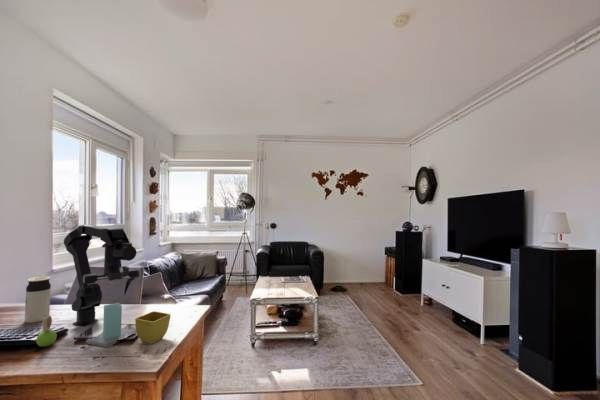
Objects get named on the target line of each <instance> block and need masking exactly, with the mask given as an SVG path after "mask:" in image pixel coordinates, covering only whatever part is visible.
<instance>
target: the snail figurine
mask: <svg viewBox="0 0 600 400" xmlns="http://www.w3.org/2000/svg"><path fill="white" fill-rule="evenodd" d="M45 316H47V315H45ZM43 317H44V315H43ZM41 322H42V332H40V333H39V334H38V335H37V337H36V339H35V343H36V344H37V345H38V347H40V348H43V347H44V348H45V347H50V346H51V345H52V344H54V342H55V341H56V340H57V336H58V335H57V332H56V331H55V330H53V329H51V326H52V323H53V318H52V316H51V315H49V316H47V317H46V318H43V320H42V321H41Z"/></svg>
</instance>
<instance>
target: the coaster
mask: <svg viewBox="0 0 600 400" xmlns="http://www.w3.org/2000/svg"><path fill="white" fill-rule="evenodd" d="M134 331H135V332H136V329H130V328H129V329H128V328H122V327H121V336H123V335H125V334H127V333H128V334H129V333H132V332H134ZM100 334H101V333H100ZM98 335H99V334H98ZM119 337H120V336H116V337H112V338H108V339H105V338H104V336H103V332H102V334H101V335H99V336H98V337H96V338H92V337H91V338H92V339H90V338H88V339H86V341H85V344H88V345H92V346H98V347H103V348H109V347H110V346H113V345H114V344H117V343H118V342H117V340H118V339H119ZM116 342H117V343H116Z"/></svg>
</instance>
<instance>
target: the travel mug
mask: <svg viewBox="0 0 600 400" xmlns="http://www.w3.org/2000/svg"><path fill="white" fill-rule="evenodd" d="M50 279H51V276H37V277H35V276H34V277H31V278H28V279H27V281H28V284H27V286H26V289H25V291H26V292H25V306H24V307H25V308H24V323H29V324H31V323H32V324H33V323H34V324H35V323H39V322H43V321H42V320H43V318H46V317H47V316H50V308H51V307H50V306H51V292H52V291H51V289H52V288H51V287H52V284H51V283H50ZM43 315H44V317H43ZM45 315H47V316H45Z"/></svg>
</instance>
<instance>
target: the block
mask: <svg viewBox="0 0 600 400" xmlns="http://www.w3.org/2000/svg"><path fill="white" fill-rule="evenodd" d="M122 308H123V305H122V304H121V303H120V302H116V303H111V304H105V305H103V324H102V333H103V336H104V338H105V339H108V338H112V337H116V336H121V328H122V318H123V317H122V316H123V315H122V314H123V313H122V312H123V309H122Z"/></svg>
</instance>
